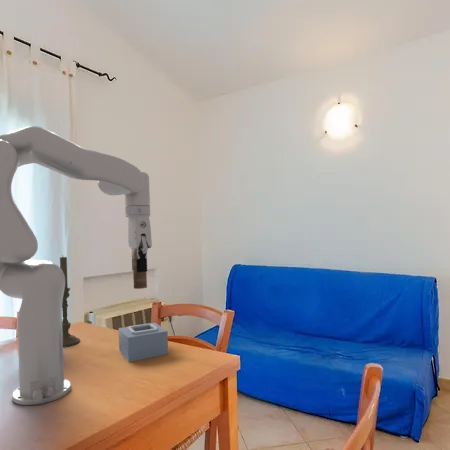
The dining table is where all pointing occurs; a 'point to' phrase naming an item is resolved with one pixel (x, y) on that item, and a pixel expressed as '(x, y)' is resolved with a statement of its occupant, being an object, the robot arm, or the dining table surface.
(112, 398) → the dining table surface
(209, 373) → the dining table surface
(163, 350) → the square peg hole block
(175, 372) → the dining table surface
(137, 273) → the walnut dowel
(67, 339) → the candlestick holder
